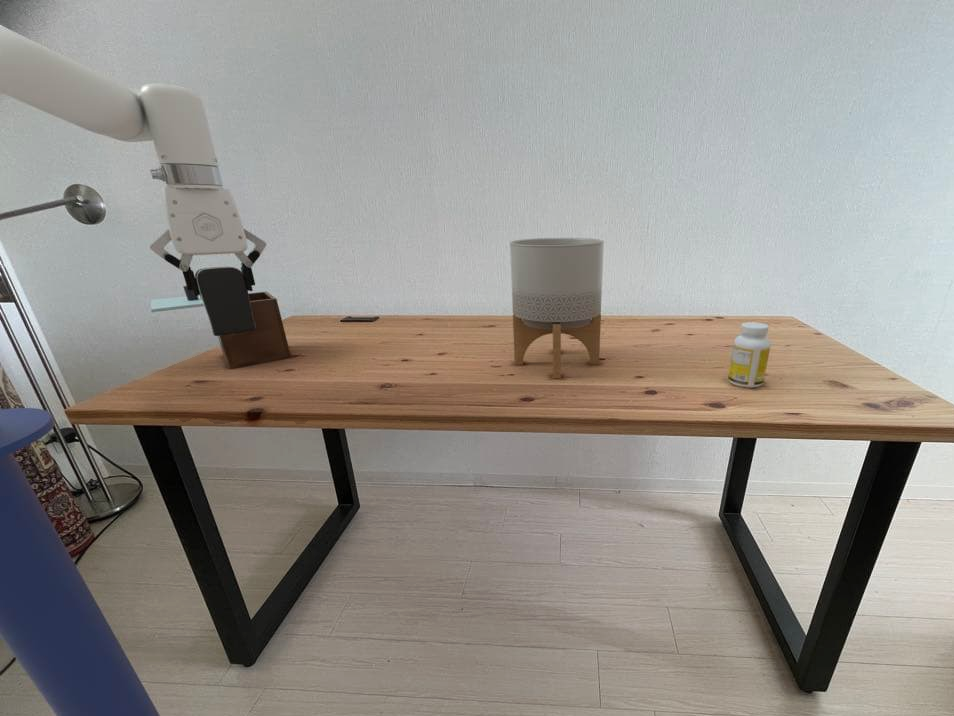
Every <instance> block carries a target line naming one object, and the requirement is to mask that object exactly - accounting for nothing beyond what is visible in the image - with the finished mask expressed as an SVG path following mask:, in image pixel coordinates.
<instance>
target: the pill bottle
mask: <svg viewBox="0 0 954 716" xmlns="http://www.w3.org/2000/svg"><path fill="white" fill-rule="evenodd" d="M769 328H770V326H769V325H768V324H766V323H762V322H755V321H754V322H753V321H747V322H743V323H741V326H740V333H741V334H740V335H738V336H737V337H735V338H734V340H733V345H732V352H731V357H730V364H729V371H728V378H727V379H728V382H729V383H730V384H732V385H734V386H736V387H737V386H738V387H742V388H748V389H749V388H751V389H752V388H758V387H761V386H762V385H763V384H764V382H765V378H766V371H767V366H768V361H769V358H770V357H769V356H770V351H771V345H772V343H771V340H770V339H769V338H768V337H766V336H767V335H768V333H769Z"/></svg>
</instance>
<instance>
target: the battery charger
mask: <svg viewBox="0 0 954 716" xmlns="http://www.w3.org/2000/svg"><path fill="white" fill-rule="evenodd" d="M194 276H195V279H196V283H197V286H198V290H199V293H200V298H201V300H202V302H203V305H204V306H203V307H204V310H205V313H206V315H207V318H208V322H209V325H210V329H211V333H212V335H213V336H214V337H218V336H222V335H230V334H237V333H243V332H248V331H253V330H256V326H255V323H254V319H253V315H252V310H251V304H250V299H249V294H248V293H249V291H248V290H247V286H246V282H245V279H244V276H243V274H242V272H241V269H239V268H237V267H235V266H213V267H212V266H211V267H204V268H200V269H197V270H196V271H195V273H194Z"/></svg>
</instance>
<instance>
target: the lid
mask: <svg viewBox="0 0 954 716" xmlns="http://www.w3.org/2000/svg"><path fill="white" fill-rule="evenodd" d="M182 288H183V290H184V293H185V296H178V297H168V298H159V299H151V301H150V302H151V303H150V305H151V306H150V310H151V313H157V312H165V311H175V310H184V309H192V308H193V309H194V308H200V307H204V305H203V302H202V300H201V298H200V295H199V296H195V295H194V292H193V290H190V291H188V289H187V285H183V287H182Z"/></svg>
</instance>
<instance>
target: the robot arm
mask: <svg viewBox="0 0 954 716" xmlns="http://www.w3.org/2000/svg"><path fill="white" fill-rule="evenodd" d="M0 93H2V94H4V95H5V96H8V97H10V98H12V99H15V100H17V101H19V102H22V103H24V104H26V105H28V106H31V107H33V108H36V109H38V110H40V111H42V112H44V113H47V114H49V115H52V116H54V117H55V118H59V119H60V120H62V121H66V122H68V123H69V124H72V125H74V126H76V127H78V128H81V129H83V130H86V131H89V132H92V133H95V134H98V135H102V136H105V137H109V138H110V139H115V140H117V141H121V142H127V143H141V142H152V143H153V145H154V149H155V151H156V155H157V156H156V157H157V159H158V162H159V165H160V167H158V168H155V169H149V172H150V175H151V178H152V180H158V181H162V182H164V184H165V186H166V187H161V199H162V205H163V211H164V216H165V220H166V225H167V228H168V229H167V230H165V232H164V233H162V234H161V235H160V236H159V237H158V238H157V239H156V240H155V241H153V242H152V243H151V244H150V246H149V249H150V250H151V251H152V252H153V253H155V254H156V255H158V256H159V257H160V258H162V259H163V260H164V261H165V262H167V263H169V264H170V265H172V266H173V267H174V268H177V269H178V270H180V271H181V272H182V275H183V279H184V282H185V286H187V289H188V291H190V290H193V292H194V295H195V296H199V295H200V293H199V290H198V286H197V283H196V279H195V272H194V270H193V269H192V267H191V262H192V260H193V256H208V255H209V256H210V255H228V254H229V255H231V254H233V255H235V257H236V258H237V259H238V261H240V262H241V267H240V271H241V272H242V274H243V276H244V279H245V282H246V286H247V290H248V292H253V291H254V290H253V286H256V282H255V278H254V273H253V269H252V267H254V264H255V263H256V261H257V260H258V259H259V258H260V256H261V254H262V253H263V252H264V250H265V248H266V247H267V242H266V241H264V239H261V238H260V237H258V236H257V235H256V234H253V233H252V232H250V231H249V230H247V229H245V228H244V226H243V223H242V218H241V215H240V212H239V209H238V206H237V204H236V201H235V199H234V196H233V194H232V191H231V190H230V189H228V188H225V187H224V184H223V180H222V175H221V171H220V167H219V163H218V159H217V155H216V152H215V148H214V147H215V146H214V144H213V140H212V136H211V132H210V127H209V123H208V119H207V114H206V110H205V106H204V103H203V101H202V99H201V97H200V95H199V94H198V93H197V92H196V91H195V90H193V89H190V88H188V87H185V86H181V85H177V84H172V83H171V84H169V83H161V82H159V83H156V82H152V83H146V84H143V85H142V86H141V87H140V88H134V87H131V86H130V87H129V86H127V85H124V84H122V83H119V82H117V81H116V80H114V79H112V78H111V77H108V76H106V75H104V74H103V73H100V72H99V71H97V70H94V69H92V68H90V67H88V66H86V65H84V64H82V63H80V62H78V61H75V60H73V59H71V58H70V57H67V56H65V55H63V54H61V53H59V52H57V51H54V50H53V49H51V48H48V47H46V46H44V45H42V44H41V43H38V42H36V41H34V40H32V39H30V38H28V37H26V36H24V35H22V34H20V33H18V32H16V31H14V30H12V29H9V28H7V27H5V26H3V25H1V24H0ZM247 240H248V241H249V242H251V243H252V244H253V245H254V246H253V248H252V250H251V251H250V252H249V253H248V254H246V253H245V252H246V251H247V250H248V241H247ZM170 242H172V245H173V248H174V250H175V251H176V252H178V253H179V254H181V256H180V259H179V258H178V257H176V256H174V255H173V254H171V253H170V252H169V251H167V250H166V249H165V247H166V246H167V245H168V244H169V243H170Z"/></svg>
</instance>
